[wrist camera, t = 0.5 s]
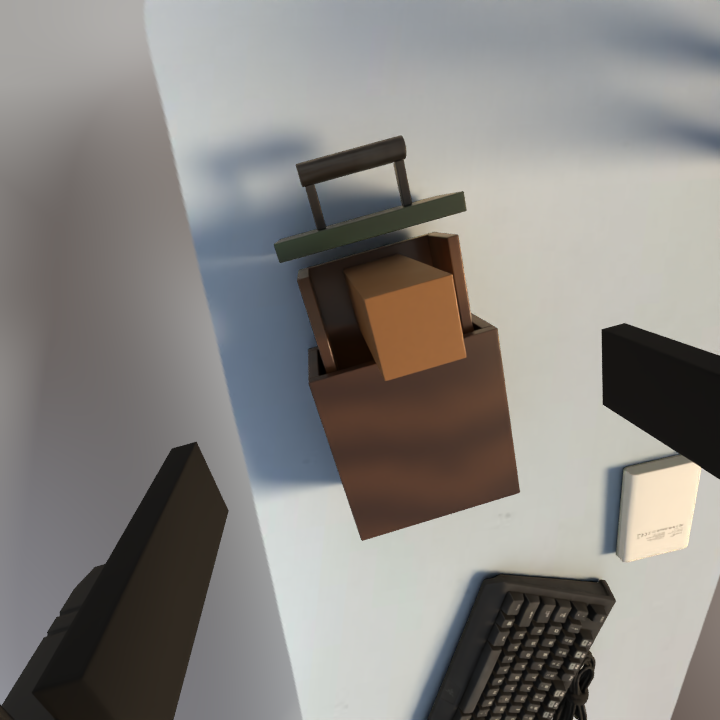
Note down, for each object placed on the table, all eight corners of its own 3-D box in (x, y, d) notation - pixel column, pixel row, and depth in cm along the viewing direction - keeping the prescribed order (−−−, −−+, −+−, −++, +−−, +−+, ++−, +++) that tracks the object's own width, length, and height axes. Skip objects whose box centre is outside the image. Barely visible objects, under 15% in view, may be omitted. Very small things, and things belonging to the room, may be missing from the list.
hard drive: (691, 451, 44) (677, 537, 48) (621, 467, 43) (614, 553, 47) (705, 459, 42) (690, 548, 46) (632, 476, 42) (624, 564, 46)
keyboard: (485, 566, 45) (505, 604, 41) (644, 579, 50) (677, 614, 45) (403, 764, 56) (411, 810, 52) (538, 761, 61) (557, 803, 56)
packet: (342, 269, 30) (363, 299, 19) (398, 253, 30) (452, 273, 19) (357, 324, 32) (384, 382, 21) (410, 308, 32) (467, 357, 21)
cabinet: (307, 348, 34) (308, 383, 27) (458, 305, 35) (498, 328, 27) (351, 483, 39) (361, 541, 32) (482, 443, 40) (520, 493, 33)
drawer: (260, 180, 29) (249, 171, 23) (425, 135, 29) (452, 116, 23) (329, 394, 35) (333, 427, 29) (463, 355, 35) (492, 380, 30)
